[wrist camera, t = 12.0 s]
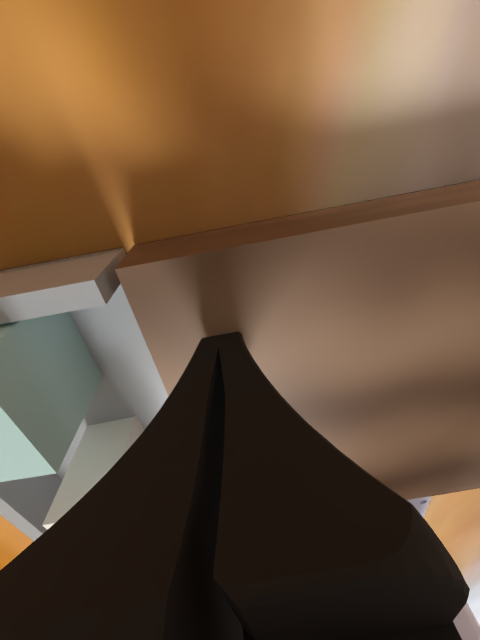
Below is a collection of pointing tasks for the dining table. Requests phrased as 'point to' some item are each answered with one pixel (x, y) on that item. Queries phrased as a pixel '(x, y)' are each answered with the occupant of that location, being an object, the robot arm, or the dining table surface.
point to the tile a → (92, 462)
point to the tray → (105, 347)
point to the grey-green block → (42, 393)
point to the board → (341, 324)
